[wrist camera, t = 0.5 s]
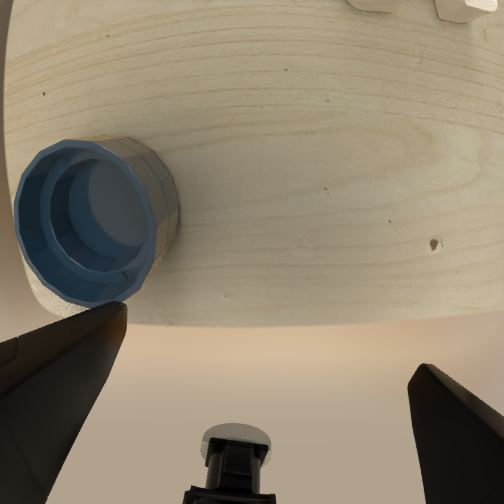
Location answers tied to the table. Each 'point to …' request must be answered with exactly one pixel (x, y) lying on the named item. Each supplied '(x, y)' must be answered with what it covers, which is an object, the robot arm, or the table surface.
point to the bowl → (95, 217)
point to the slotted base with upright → (447, 4)
